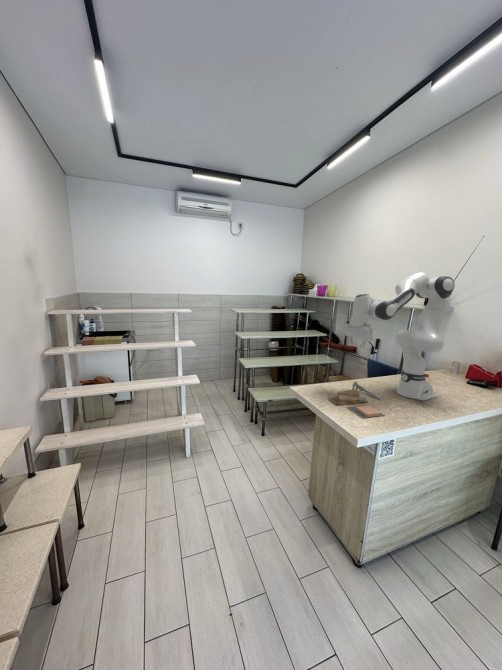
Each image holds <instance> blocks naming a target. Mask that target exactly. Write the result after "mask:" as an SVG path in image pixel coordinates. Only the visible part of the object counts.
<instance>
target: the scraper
mask: <svg viewBox="0 0 502 670" xmlns="http://www.w3.org/2000/svg"><path fill="white" fill-rule="evenodd" d="M360 394H361V391H360V390H359V389H357V390H356V389H355V388H354V390H352V389H345V390H344V389H343V390H337V395H336V396H337V400H339V401H340V402H343V401H353V400H360V401H363V400H367V399H366V398H365V397H363V396H361V395H360Z"/></svg>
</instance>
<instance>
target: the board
mask: <svg viewBox="0 0 502 670" xmlns="http://www.w3.org/2000/svg"><path fill="white" fill-rule="evenodd" d="M327 400H328V401H329V402H330V403H332V404H333V405H335V407H338V406H347V405H359V404H368V403H369V401H368V399H366V400H363V401H360V400H353V401H343V402H340V401H339V400H337V397H335V396H334V397H328V398H327Z"/></svg>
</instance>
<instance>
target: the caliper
mask: <svg viewBox="0 0 502 670" xmlns="http://www.w3.org/2000/svg"><path fill="white" fill-rule="evenodd" d="M355 389H356V390H358V391H360V392H364V393H366V394H368V395H369V396H372V397H373V398H374V399H376V400H379V401H382V402H385V400H384V399H383V398H382V397H380V396H379V395H376V394H375V393H373V392H371V391H370V390H368V389H366V388H365V387H364V386H362V385H361V384H359V381H357V380H354V382H353V383H352V387H351V390H355Z"/></svg>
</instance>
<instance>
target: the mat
mask: <svg viewBox="0 0 502 670" xmlns="http://www.w3.org/2000/svg"><path fill="white" fill-rule="evenodd" d="M360 406H361V405H359V406H349V407H346V409H347V410H349V411H350V412H352V413H353V414H354V415H355V416H357V417H359V418H360V419H362V420H364V419H371V418H372V419H373V418H381V417H383V418H384V417H386V415H385V414H383V413H382V412H380V413H381V414H380V416H375V417H365V416H364V415H362V414H361V413H359V412H358V411H357V410H356V407H360ZM366 406H370V405H366Z"/></svg>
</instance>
